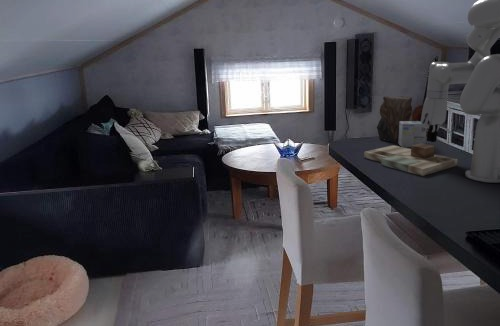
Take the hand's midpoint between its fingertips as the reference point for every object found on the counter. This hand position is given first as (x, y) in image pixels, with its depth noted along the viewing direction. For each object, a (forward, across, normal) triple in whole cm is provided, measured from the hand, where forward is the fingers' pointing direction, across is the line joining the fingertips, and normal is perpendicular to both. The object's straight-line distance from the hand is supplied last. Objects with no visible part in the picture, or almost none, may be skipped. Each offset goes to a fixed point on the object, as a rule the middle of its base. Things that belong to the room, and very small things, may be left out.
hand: (431, 141), depth 174 cm
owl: (+8, -16, -30) cm, 35 cm away
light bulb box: (+8, -12, -17) cm, 22 cm away
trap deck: (+7, +13, -2) cm, 15 cm away
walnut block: (+4, +8, +2) cm, 10 cm away
